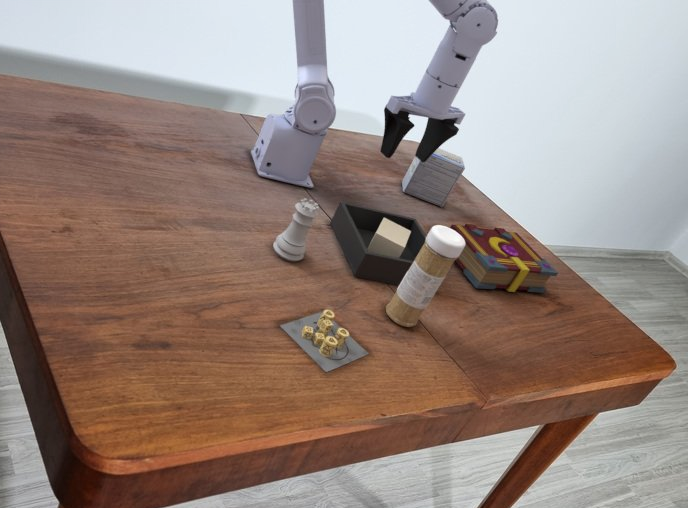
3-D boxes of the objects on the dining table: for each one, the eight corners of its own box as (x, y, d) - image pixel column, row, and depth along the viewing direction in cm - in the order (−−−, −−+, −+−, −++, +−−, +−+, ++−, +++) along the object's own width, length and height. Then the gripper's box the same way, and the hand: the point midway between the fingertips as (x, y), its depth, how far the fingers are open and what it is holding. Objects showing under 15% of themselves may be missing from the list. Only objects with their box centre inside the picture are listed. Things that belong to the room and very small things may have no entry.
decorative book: (437, 244, 114) (452, 219, 112) (507, 252, 122) (523, 229, 120) (475, 290, 107) (492, 264, 104) (547, 295, 115) (565, 271, 112)
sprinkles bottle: (403, 305, 96) (452, 224, 88) (422, 328, 93) (474, 246, 85) (378, 305, 93) (425, 222, 86) (396, 329, 90) (447, 245, 83)
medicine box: (439, 197, 131) (462, 157, 126) (442, 208, 127) (466, 167, 123) (400, 182, 130) (422, 141, 125) (402, 192, 126) (424, 150, 122)
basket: (353, 276, 97) (366, 253, 95) (329, 222, 107) (340, 200, 105) (434, 292, 102) (447, 270, 99) (404, 239, 112) (415, 218, 110)
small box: (364, 255, 102) (376, 232, 99) (372, 238, 107) (383, 217, 105) (392, 269, 101) (404, 247, 99) (399, 252, 106) (411, 231, 104)
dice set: (322, 319, 86) (328, 308, 85) (351, 347, 83) (358, 335, 82) (294, 329, 82) (300, 317, 81) (324, 358, 80) (331, 346, 79)
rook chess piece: (307, 255, 97) (330, 206, 93) (295, 267, 93) (318, 217, 89) (279, 238, 98) (301, 190, 93) (266, 250, 94) (288, 200, 90)
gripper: (460, 73, 112) (421, 148, 120) (393, 58, 104) (355, 139, 112) (488, 94, 108) (445, 170, 115) (420, 80, 100) (378, 163, 107)
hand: (402, 156), depth 113 cm, fingers open, 7 cm apart
